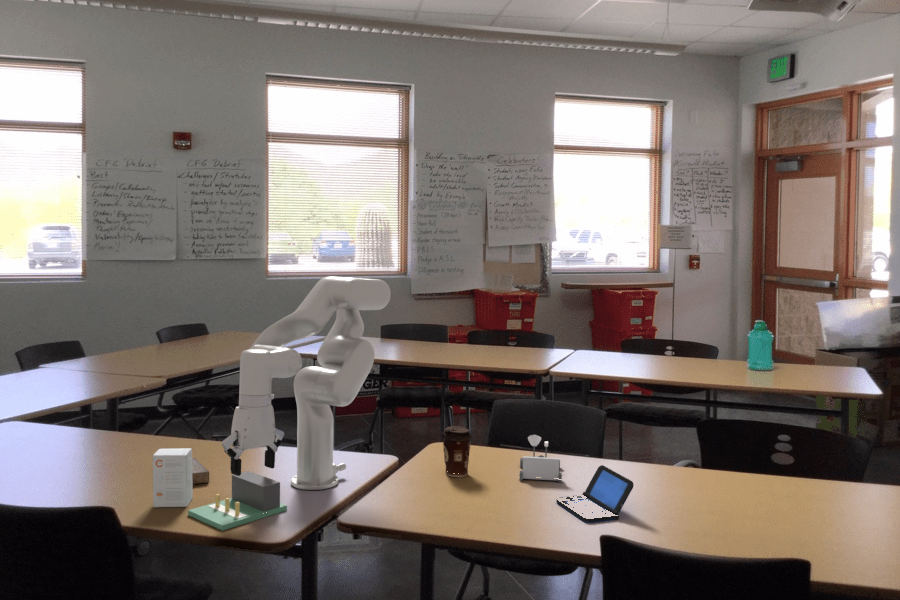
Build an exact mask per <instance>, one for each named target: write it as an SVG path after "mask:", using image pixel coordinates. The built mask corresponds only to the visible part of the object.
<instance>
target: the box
mask: <svg viewBox="0 0 900 600" xmlns="http://www.w3.org/2000/svg"><path fill="white" fill-rule="evenodd" d="M192 483H193V486H194V485H196V484H204V483H206V484H208V483H210V471H209V470H208V469H207V468H206V467H205V466H204V465H203V464H202V463H201V462H200V461H198V459H197V458H196V457H192Z"/></svg>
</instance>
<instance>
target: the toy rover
mask: <svg viewBox="0 0 900 600" xmlns="http://www.w3.org/2000/svg"><path fill="white" fill-rule="evenodd" d="M527 440H528V442H529V443H530V445H531V446H532V447H533V453H532V455H530V456H525V455H523V456H522V457H520V459H519V460H520V461H519V468H520V469H521V468H522V470H519V477H520V478H519V482H523V479H525V480H541V481H542V480H543V481H557V483H558V484H562V482H563V481H562V480H563V478H562V476H563V474H562V472H560V470H561V460H560V458H559V457H550V456H549V457H548V455H547V453H548V447H549V441H548V440H547V441H544V447H545V449H544V450H545V455H542V454H541V455H538V456H536V447H538V445H539V444H540V442H541V441H542V437H541V436H539V435H537V434H536V433H534V434H530V435H529V436H527ZM536 477H541V478H536ZM554 478H559V479H562V480H558V479H554Z"/></svg>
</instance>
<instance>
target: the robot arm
mask: <svg viewBox="0 0 900 600" xmlns="http://www.w3.org/2000/svg"><path fill="white" fill-rule="evenodd" d="M391 295H392V294H391V289H390V286H389V284H388V283H387V282H386V281H384V280H382V279H378V278H377V279H376V278H364V277H363V278H361V277H360V278H359V277H345V276H343V277H342V276H325V277H322V278H321V279H319V280H318V281H317V283H316V284H315V285H314V286H313V287H312V289H311V290H310V291H309V292H308V294H307V295H306V296H305V298H304V299H303V301H302V302H301V303H300V305H298V307H297V308H296V309H295V310H294V311H293V312H292V313H290V314H289V315H285V316H284V317H283V318H281V319H279V320H278V321H275V322H274V323H273V324H271V325H269V326H268V327H267V328H265V329H264V330H263V331H262V332H261V334H260V335H258V336H257V339H255V341H254V342H253V343H252V345H251V346H250V348H249V349H245V350H243V351H242V352H241V353H240V359H239V389H238V390H239V392H238V393H239V394H238V406H236V407H235V409H234V413H233V417H232V423H231V428H230V429H231V430H230V431H231V433H230V435H228V436H227V437H226V438H225V439H223V440H222V441H221V445H222V449H223V450H224V453H225V454H226V455H227V456H228V458H230V474H231V475H237V476H240V475H241V473H242V458H240V457H241V456H242V454H244V451H248V450H249V451H250V450H254V449H260V448H264V447H265V448H266V450H265V451H264V467H266V468H269V469H275V465H276V464H275V463H276V453H277V452H278V448H279V447H280V446H281V444H282V440H283V438H284V436H285V432H284V431H283V430H280V429H278V428H276V421H275V420H276V419H275V412H274V407H273V405H272V400H274V399H275V394H274V393H272V384H273V383H272V382H273V378H274V379H275V378H277V379H278V378H279V379H287V378H292V377H294V376H295V377H294V380H293V391H294V392H293V393H294V396H295V397H294V398H295V402H296V410H297V412H296V413H297V414H296V415H297V417H296V419H297V424H296V425H297V426H296V427H297V428H296V437H297V438H296V439H297V441H296V474H295V475H293V476H292V477H291V479H290V484H291V486H293V487H294V488H296V489H300V490H306V491H319V490H321V491H322V490H327V489H330V488H334V487H335V486H336V485H339V480H340V479H339V477H338V476H337V473H339V472H341V471H344V470H346V469H347V465H346V463H345V462H342V463H341V462H340V463H338V464H337V463H335V462H334V415H333V414H334V413H333V411H332V408H331V406H334V407H342V408H343V407H346V406H349V405H351V404H352V403H353V401H354V400H355V398H356V397H357V395H358V394H359V392H360V390H361V389H362V386H363V384H364V383H365V381H366V380H367V377H368V375H369V374H370V372H371V370H372V368H373V365H374V363H375V362H374V361H375V350H374V349H375V348H374V346H373V345H372V343H371V342H370V341H368V340H367V339H365V338H362V337H363V334H364V332H365V331H364V330H365V325H364V321H363V319H362V316H361V313H360V311H379V310H382V309H384V308H386V306H387V305H388V304H389V303H390V301H391V300H390V299H391ZM335 313H336V318H335V321H334V324H333V325H332V327H331V329H330V330H329V331H328V334H327V335H326V337H325V338H324V340H323V341H322V343H321V344H320V346H319V349H318V351H317V354H316V359H317V362H318V364H319V365H320V366H318V365H317V366H315V365H314V366H313V365H312V366H311V365H310V366H305V367H303V368H302V365H303V359H302V356H301V354H300V353H299V352H298V351H297V350H295V349H293V348H290V347H286V345H288V344H290V343H292V342H295V341H298V340H302V339H303V340H304V339H307V338H310V337H313V336H315V335H318V334H319V333H320V332H322V331H323V329H324V328H325V327H326V325H327V324H328V322H329V321H330V319H331V318H332V316H334V314H335Z"/></svg>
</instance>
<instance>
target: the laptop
mask: <svg viewBox="0 0 900 600" xmlns="http://www.w3.org/2000/svg"><path fill="white" fill-rule="evenodd" d="M634 485H635V484H634V482H633V481H632V480H631V479H629V478H627V477H625V476H624V475H621V474H620V473H618V472H617V471H614V470H612V469H611V468H609V467H606V465H603V464H602V465H599V466H598V467H597V469H596V471H595V473H594V474H593V476H592V478H591V480H590V482H589V483H588V484H587V487H586V488H585V491H583V492H582V495H584V496H586V497H587V498H586V499H588V501H589V500H590V501H592V502H593V503H595V504H597V505H598V506H600V507H602V508H603V509H604V510H605V509H606V510H608V511H610V512H612V513H613V514H615V515H619V513H620V512H621V510H622V509H623V508H624V504H625V503H626V502H627V499H628V498H629V496H630V494H631V492H632V490H633V489H634ZM572 496H573V497H574V496H575V495H572ZM576 496H577V495H576ZM563 497H564V496H562V497H560V498H563ZM566 497H567V498H566V499H570V501H575V500H572V499H573V498H570V497H569V496H566ZM577 498H582V497H581V496H577ZM586 499H585V500H586ZM578 500H580V501H582V500H584V499H578ZM555 502H556V504H557V505H559V506H560V507H562V508H563V510H566V511H567V512H568V513H570V514H572V515H573V517H576V518H577V519H579V520H580V521H582V522H583V523H585V524H592V523H593V524H594V523H600V522H602V523H603V522H609V521H618V520H619V517H620V515H619V516H611V517H602V518H594V519H586V518H583V517H582V516H580V515H579V514H577V513H576V512H574V511H573V510H571V509H570V508H568V507H567V506H565V505H564V504H562V503H561V502H559V501H558V500H557V499H556V501H555ZM562 502H563V503H565V504H568V503H567V502H568V501H562ZM578 502H579V501H578ZM574 503H575V502H574ZM576 503H577V502H576ZM568 505H569V504H568ZM585 506H586V505H585ZM573 508H574V507H573ZM606 510H605V511H606ZM602 512H603V511H602ZM592 513H593V512H592ZM582 514H583V513H582ZM605 514H606V513H605Z"/></svg>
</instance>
